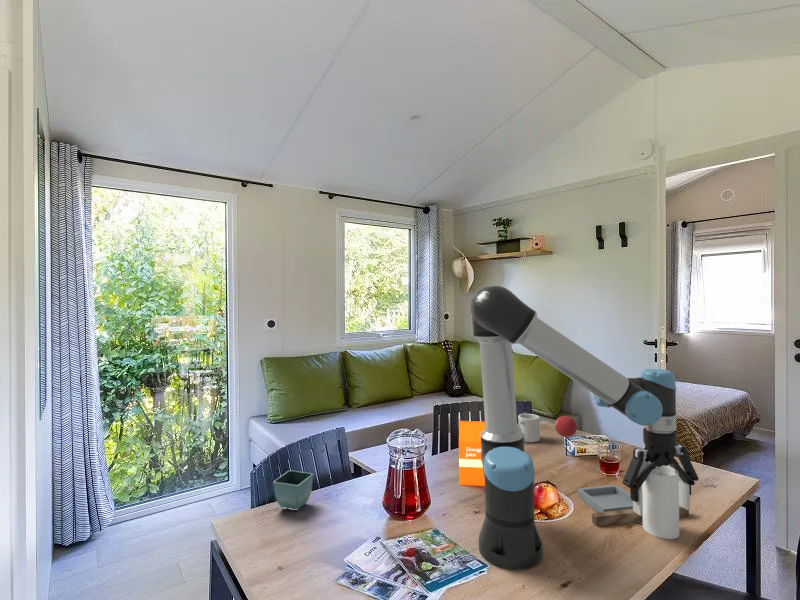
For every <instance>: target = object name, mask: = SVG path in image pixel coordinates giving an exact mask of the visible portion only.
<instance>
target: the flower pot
mask: <svg viewBox="0 0 800 600" xmlns="http://www.w3.org/2000/svg"><path fill="white" fill-rule="evenodd" d="M313 480H314V473H311V472H303V471H297V470H291V469H290V470H287V471H286V472H285V473H283V474H282V475H280V476H279V477H278V478H276V479H275V480H272V484H273V490H274V495H275V499H276V501H277V504H278V505H279V506H280V508H281V507H286V508H292V509H299V508H300V507H301V506H302V505H303V504H305V503H306V504H307V502H308V500H309V499H310V497H311V494H312V488H313V483H314V481H313ZM306 504H305V505H306ZM300 509H301V508H300ZM300 509H299V510H300Z"/></svg>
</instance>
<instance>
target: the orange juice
mask: <svg viewBox="0 0 800 600" xmlns="http://www.w3.org/2000/svg"><path fill="white" fill-rule="evenodd" d="M484 429H485V421H480V420H479V421H478V420H477V421H476V420H475V421H473V420H472V421H471V420H458V458H459V459H458V466H459V467H458V468H459V469H458V471H459V475H458V476H459V485H460V486H462V485H463V486H477V487H480V486H481V487H485V482H484V473H483V465H482V461H481V437H480V434H481V432H482V431H483V430H484Z"/></svg>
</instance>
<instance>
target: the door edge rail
mask: <svg viewBox="0 0 800 600" xmlns="http://www.w3.org/2000/svg"><path fill="white" fill-rule="evenodd" d="M688 516H690V510H686V509H685V508H683V507H681V506H680V505H679V518H680V517H681V518H682V517H688ZM636 522H643V516H640V515H638V514H637V513H636V512H634V511H633V509H626V510H617V511H608V512H599V513H597V512H592V513H591V523H592V524H594V525H595V526H596V527H601V526H608V525H609V526H611V525H618V524H627V523H636Z"/></svg>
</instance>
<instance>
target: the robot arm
mask: <svg viewBox="0 0 800 600" xmlns="http://www.w3.org/2000/svg"><path fill="white" fill-rule="evenodd" d="M470 313H471V317H472V318H471V320H472V332H473V338H474V339H475V340H476V341H477V342H478V343H479V354H480V367H481V369H480V370H481V382H482V398H483V411H484V422H485V429H484V430H483V431H482V432H481V434H480V437H481V461H482V465H483V473H484V482H485V486H484V509H485V511H484V512H485V514H484V520H483V523H482V526H481V529H480V532H479V534H478V551H479V553H480V555H481V556H482V558H484V560H486V561H487V562H489V563H490V564H492V565H494V566H497V567H499V568H503V569H509V570H526V569H530V568H533V567H535V566H537V565H538V564H540V563H541V561H542V560H543V555H544V552H543V551H544V550H543V542H542V539H541V536H540V533H539V531H538V528H537V525H536V521H535V520H536V519H535V480H534V479H535V466H534V462H533V461H534V460H533V459H532V457H531V456H530V454H528V453H527V452H526V450H525V442H524V435H523V433H522V432H521V431H520V430H519V429H518V420H517V419H518V415H517V403H516V390H515V389H516V388H515V387H516V386H515V373H514V360H513V359H514V358H513V345H517V344H519V345H521V346H522V347H524V348H526V349H527V350H528V351H529V352H532V353H533V354H534V355H536V356H537V357H539V358H540V359H542V360H543V361H545V362H546V363H548V365H551V366H552V367H553V368H555V369H556V370H557V371H560V372H561V373H562V374H563V375H565V376H566V377H568V378H569V379H571V380H573V381H574V382H575V383H577V384H578V385H580V386H581V387H583V388H584V389H586V390H588V392H589V393H591V394H592V396H593V400H594V403H595V404H596V405H597V406H598V407H601V408H613V409H615V410H616V411H618V412H620V413H621V414H622V415H624V416H625V417H627V419H629V420H630V421H631V422H633V423H635V424H637V425H639V426H642V427H643V429H642V439H643V441H642V442H643V443H644V449H638V448H636V447H635V448H633V452H632V458H631V460H630V463H629V465H628V467H627V470H626V472H625V475H624V477H623V480H622V484H623V485H624V486H625V487H628V488H629V490H630V491H629V494H630V495H631V496H630V498H631V500H633V511H634V512H636V513H637V514H638V515H640V516H643V495H642V489H641V488H642V484H643V483H644V481H645V480H646V478H647V477H648V475H649V474H650V472H651V471H652V470H653V469H655V468H656V466H657V467H660V466H663V465H664V466H669V467H672V468H674V469H676V470H677V471H678V473H679V479H681V480H679V505H680V506H681V507H683V508H685V509H686V510H689V511H690V510H691V502H690V501H691V499H690V496H691V495H692V486H695V484H696V482H698V481H699V479H700V478H699V476H698V474H697V472H696V470H695V468H694V466H693V464H692V462H691V460H690V457H689V455H688V449H687V447H686V446H683V445H681V444H678V441H677V440H678V438H677V436H678V435H677V432H676V430H677V409H676V408H677V407H676V404H677V403H676V401H677V400H676V398H677V397H676V396H677V395H676V391H677V385H676V384H677V383H676V378H675V374H674V373H673V372H672V371H670V370H668V369H661V368H648V369H647V368H645V369H643V370H642V371H641V374H640V377H639V376H638V377H626V376H625V375H623V374H622V373H620V372H619V371H618V370H616V369H615V368H613V367H612V366H609V365H608V364H607V363H605V362H604V361H602V360H601V359H599V357H596V356H595V355H593V354H592V353H590V351H587V350H586V349H584V347H581V346H580V345H579V344H577V343H576V342H574V341H573V340H571V339H570V338H568V337H567V336H565V335H564V334H563V333H561V332H559V331H558V330H556V329H555V328H553V327H552V326H550V325H549V324H548V323H546V322H544V321H543V320H541V319H540V318H539V317H538V312H537V311H536V310H534V309H533V308H531V307H530V306H529V305H528V304H526V303H524V302H523V301H522V300H521V299H520V298H519V297H518V296H517V295H515V294H514V293H513V292H512V291H511V290H509V289H508V288H507V287H504V286H500V285H489V286H485V287H483V288H481V289H479V290H478V291H477V292H476V293H475V294H474V295H473V297H472V299H471V302H470ZM675 457H677V458H678V460H679V462H680V464H679V462H678V460H677V459H676V458H675Z"/></svg>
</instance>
